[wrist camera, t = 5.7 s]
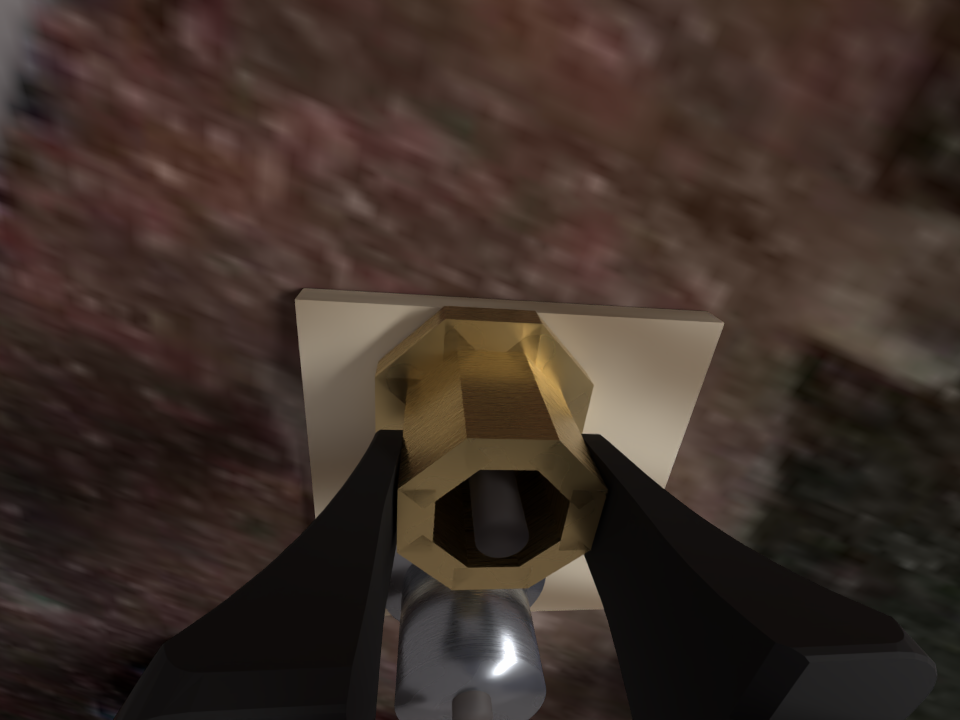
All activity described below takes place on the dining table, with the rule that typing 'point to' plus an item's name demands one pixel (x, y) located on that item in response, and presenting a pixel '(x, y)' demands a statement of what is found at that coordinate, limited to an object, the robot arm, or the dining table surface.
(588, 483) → the octagonal brass sleeve
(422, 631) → the flanged metal peg
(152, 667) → the robot arm
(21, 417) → the dining table surface
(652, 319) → the beige peg board
